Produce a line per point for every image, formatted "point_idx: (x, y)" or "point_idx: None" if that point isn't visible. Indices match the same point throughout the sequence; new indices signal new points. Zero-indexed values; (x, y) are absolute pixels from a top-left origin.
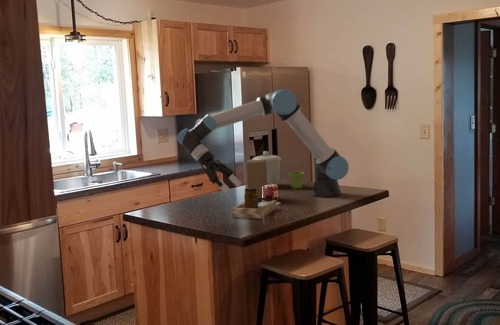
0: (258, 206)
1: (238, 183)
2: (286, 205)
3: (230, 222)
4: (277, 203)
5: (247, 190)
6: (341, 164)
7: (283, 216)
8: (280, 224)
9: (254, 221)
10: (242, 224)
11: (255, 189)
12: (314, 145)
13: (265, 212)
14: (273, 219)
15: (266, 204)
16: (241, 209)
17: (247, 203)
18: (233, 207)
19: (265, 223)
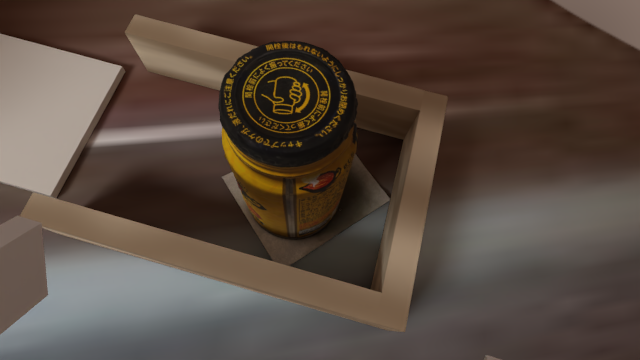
0: (69, 167)
1: (13, 270)
2: (81, 5)
3: (546, 313)
4: (30, 47)
5: (349, 127)
6: None
7: (379, 15)
8: (554, 25)
9: (504, 156)
10: (586, 220)
11: (314, 46)
12: None
13: None
14: (449, 60)
15: None
16: (421, 237)
17: (342, 187)
18: (363, 319)
19: (544, 94)
